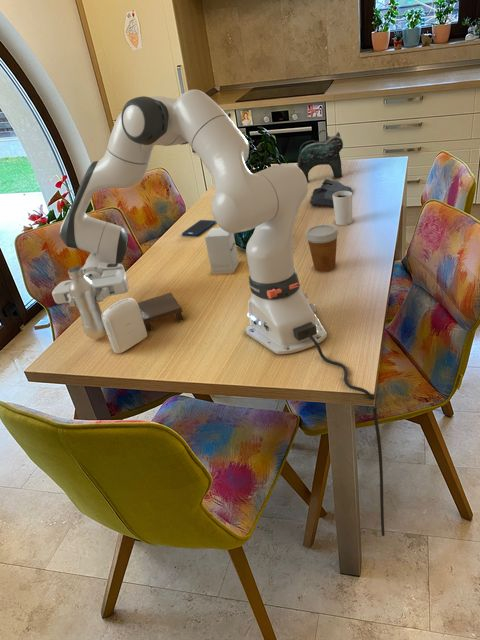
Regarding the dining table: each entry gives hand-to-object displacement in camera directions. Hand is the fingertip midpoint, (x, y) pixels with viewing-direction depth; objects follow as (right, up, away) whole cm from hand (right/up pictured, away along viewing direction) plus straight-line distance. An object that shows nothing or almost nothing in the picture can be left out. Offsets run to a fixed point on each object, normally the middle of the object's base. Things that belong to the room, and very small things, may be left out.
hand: (85, 301), depth 147 cm
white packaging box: (+34, +13, +33) cm, 50 cm away
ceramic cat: (+72, +61, +96) cm, 134 cm away
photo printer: (+11, -11, +2) cm, 16 cm away
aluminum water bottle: (+2, -9, +7) cm, 11 cm away
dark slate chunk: (+72, +46, +74) cm, 113 cm away
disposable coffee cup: (+65, +12, +24) cm, 70 cm away
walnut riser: (+17, -4, +12) cm, 21 cm away
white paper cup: (+75, +32, +52) cm, 97 cm away
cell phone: (+22, +33, +67) cm, 78 cm away
